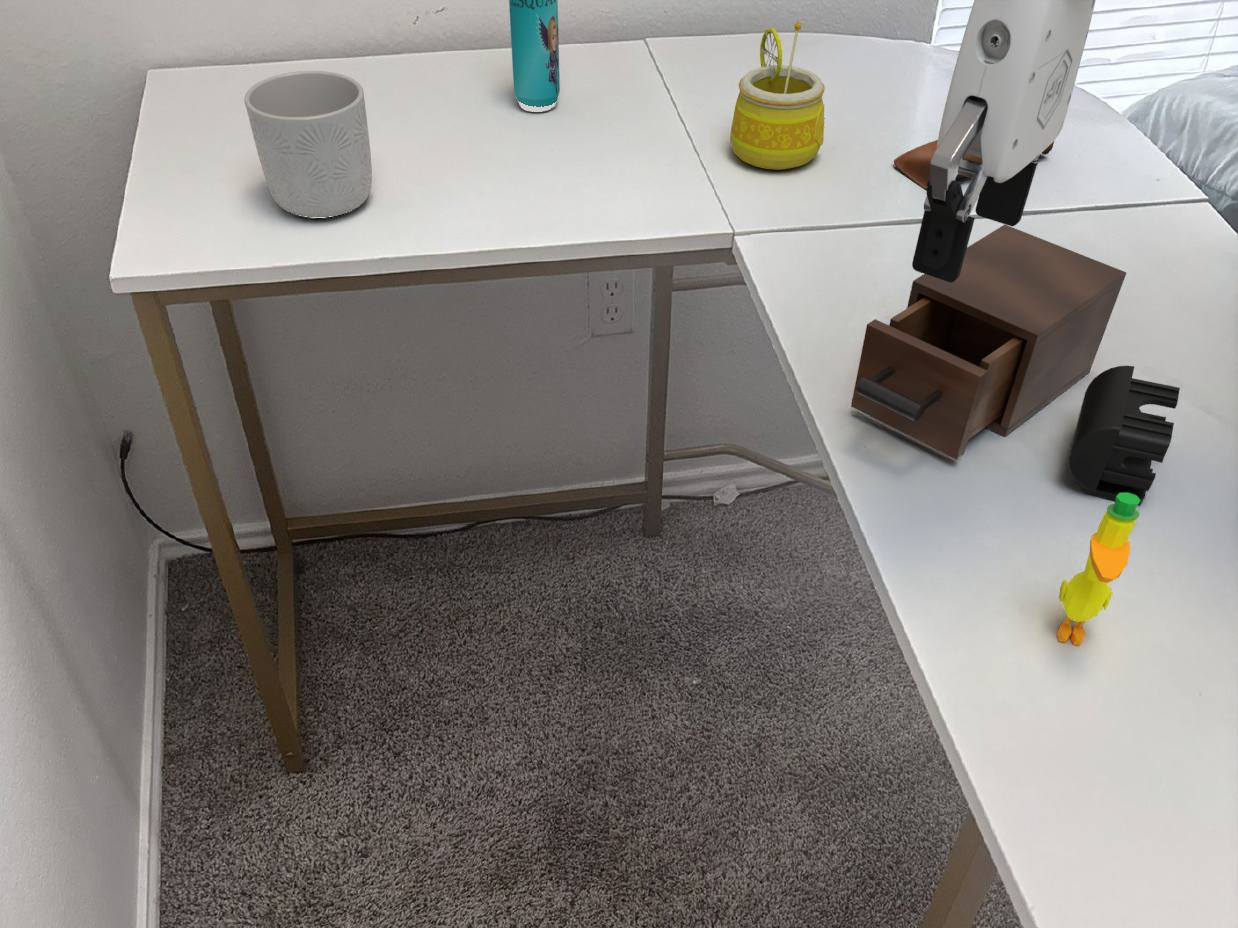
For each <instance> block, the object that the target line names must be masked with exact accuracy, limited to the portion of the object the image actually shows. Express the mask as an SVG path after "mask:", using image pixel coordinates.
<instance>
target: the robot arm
mask: <svg viewBox="0 0 1238 928" xmlns="http://www.w3.org/2000/svg"><path fill="white" fill-rule="evenodd" d="M1095 5H1096V0H973V3H972V6H971V10H970V13H969V16H968V18H967V19H968V20H967V23H966V27H965V30H964V33H963V36H962V40H961V43H960V47H959V50H958V54H957V57H956V62H955V65H954V69H953V73H952V77H951V81H950V85H949V88H948V91H947V96H946V101H945V103H944V104H945V105H944V109H943V113H942V116H941V117H942V118H941V122H940V126H939V131H938V137H937V140H938V142H937V149H936V151H935V152H934V154H933V157H932V159H931V163H930V180H929V181H928V183H927V186H928V187H927V188H926V190H925V191H926V196H925V199H924V202H923V215H922V219H921V224H920V227H919V233H918V237H917V241H916V246H915V250H914V253H913V259H912V263H911V267H912V269H913V270H914V271H916V272H918V273H921V274H927V275H930V276H933V277H936V278H938V279H941V280H944V281H947V282H954V281H955V280H956V279H957V278H958V277H959V275H960V272H961V268H962V265H963V261H964V257H965V253H966V250H967V247H969V242H970V238H971V235H972V230H973V227H974V223H975V219H976V217H973V216H971V213H972V211H973V209H974V207H975V211H974V212H975V214H976V216H979V217H981V218H984V219H986V220H987V219H988V220H991V221H994V222H996V223H1000V224H1003V225H1008V226H1010V227H1015V226H1017V225H1018V224H1019V223H1020V222H1021V220H1022V217H1023V213H1024V211H1025V207H1026V203H1027V200H1028V197H1029V194H1030V191H1031V186H1032V183H1033V181H1034V177H1035V173H1036V170H1037V166H1038V163H1037V162H1036V161H1037V160H1039V158H1040V156H1041V154H1042V152H1043V151H1044V150H1045V149H1046V148H1047V147H1048V146H1050V145H1051V144H1052V143H1053V142H1054V143H1055V141H1056V139H1057V138H1058V137H1059V135H1060V133H1061V131H1062V129H1063V127H1064V124H1065V120H1066V118H1067V117H1066V116H1067V113H1068V109H1069V106H1070V102H1071V98H1072V95H1073V91H1074V89H1075V84H1076V80H1077V77H1078V72H1079V69H1080V65H1081V61H1082V58H1083V54H1084V50H1085V46H1086V42H1087V38H1088V34H1089V31H1090V26H1091V23H1092V18H1093V14H1094V11H1095ZM965 153H967V154H970V155H974V156H977V157H980V158H982V163H979V162H975V161H972V160H969V159H965V158H963V156H964V155H965ZM1033 161H1034V162H1033ZM958 174H960V175H963V176H964V177H967V178H970V181H969V184H968V185H967V188H966V190H965V192H963V189H962V185H961V182H960V181H958V180H955V178H956V176H957V175H958ZM975 205H976V206H975Z"/></svg>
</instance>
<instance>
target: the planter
mask: <svg viewBox="0 0 1238 928" xmlns="http://www.w3.org/2000/svg"><path fill="white" fill-rule="evenodd" d="M244 105H245V109H246V113H247V117H248V121H249V125H250V128H251V133H252V137H253V140H254V145H255V148H256V152H257V156H258V159H259V164H260V166H261V167H260V168H261V171H262V174H263V178H264V179H265V182H266V185H267V188H268V190H269V192H270V194H271V197H272V198H273V200H274V202H275V203H276V204H277V205H278V206H279V207H280V208H281V209H282V210H285V211H286V212H288V213H289V212H291V213H290V214H292V213H293V214H292V215H294V214H296V215H295V216H297V215H301V216H307V217H329V216H336V215H340V214H343V213H346V212H349V211H351V210H353V209H355V208H357V207H358V206H359V207H361V206H362V205H363V204H364V203H365V201H366V200H367V199H368V197H369V195H370V193H371V189H372V182H373V167H372V154H371V153H372V152H371V144H370V134H369V125H368V118H367V116H368V115H367V109H366V101H365V92H364V88H363V87H362V85H361V84H360V83H359V82H358V81H357V80H355V79H354V78H353V77H350V76H348V75H344V74H341V73H337V72H332V71H325V70H301V71H299V70H298V71H292V72H291V71H290V72H285V73H280V74H276V75H273V76H270V77H267V78H265V79H263V80H260V81H258V82H257V83H254V85H252V86H251V87H249V89H248V90H247V91H246V93H245V95H244ZM362 203H363V204H362ZM361 204H362V205H361ZM360 205H361V206H360ZM359 207H358V208H359ZM358 208H357V209H358ZM355 210H356V209H355ZM353 211H354V210H353ZM351 212H352V211H351ZM349 213H350V212H349Z"/></svg>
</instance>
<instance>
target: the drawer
mask: <svg viewBox="0 0 1238 928" xmlns="http://www.w3.org/2000/svg"><path fill="white" fill-rule="evenodd" d="M1026 343H1027V340H1025V339H1023V338H1021V337H1018V336H1016V335H1014V334H1012V333H1009V332H1007V331H1005V330H1002V329H1000V328H998V327H996V326H993V325H991V324H989V323H987V322H984V321H982V320H980V319H977V318H975V317H973V316H971V315H968V314H966V313H964V312H961V311H959V310H957V309H955V308H952V307H950V306H948V305H946V304H943V303H941V302H939V301H936V300H934V299H932V298H930V297H927V296H926V297H924V298H923V299H921V300H919V301H918V302H916V303H915V304H913V305H912V306H910V307H908V308H907V307H906V308H905V309H904V310H901V311H900V312H899V313H897V314H896V315H894V316H893V317H891V318H890V321H889V324H887V323H885V322H882V321H880V320H878V319H875V318H874V319H873V320H872V321H870V322H868V323H866V327H865V332H864V337H863V341H862V348H861V353H860V357H859V362H858V369H857V372H856V373H857V374H856V379H855V383H854V389H853V395H852V398H851V404H850V408H853V409H855V410H857V411H859V412H861V413H863V414H865V415H866V416H869V417H871V418H873V419H874V420H877V421H878V422H881V423H882V424H884V425H886V426H889V427H890V428H892V429H894V430H897V431H898V432H900V433H902V434H904V435H907V436H908V437H910V438H912V439H914V440H916V441H917V442H920V443H922V444H924V445H926V446H928V447H930V448H932V449H934V450H936V451H938V452H939V453H942V454H944V455H946V456H947V457H950V458H952V459H954V460H958V459H959V458H961V457H962V456H963V455H964V454H965V451H966V448H967V445H968V441H969V440H970V439H972V438H973V437H974V436H976V435H977V434H979V432H981V431H983V430H984V429H986V426H988V425H989V424H990V423H992V422H993V421H994V420H996V419H997V418H998V417H1000V416H1001V415H1002V414H1004V412H1005V409H1006V406H1007V403H1008V400H1009V397H1010V393H1011V390H1012V387H1013V384H1014V381H1015V378H1016V374H1017V371H1018V368H1019V365H1020V362H1021V359H1022V356H1023V352H1024V349H1025V346H1026Z"/></svg>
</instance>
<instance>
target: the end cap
mask: <svg viewBox="0 0 1238 928" xmlns="http://www.w3.org/2000/svg"><path fill="white" fill-rule="evenodd" d="M1134 371H1135V366H1134V365H1118V366H1114V367H1110V368H1109V369H1106V370H1104V371H1102V372H1100V373H1099V374H1098V375H1096V376H1095V377H1094V378H1093V379H1092V380H1091V381H1090V383H1089V384H1088V385H1087V387H1086V390H1085V392H1084V395H1083V400H1082V404H1081V407H1080V410H1079V411H1080V412H1079V414H1078V419H1077V423H1076V426H1075V431H1074V434H1073V438H1072V442H1071V445H1070V450H1069V454H1068V459H1067V461H1068V462H1067V463H1068V469H1069V473H1070V474H1071V477H1072V479H1074V481H1075V482H1076V483H1077V484H1079V486H1080V487H1081V488H1082V489H1083V490H1084V491H1085V492H1086V493H1087V494H1089V495H1092V496H1094V497H1096V498H1097V497H1098V498H1101V499H1105V500H1106V499H1107V500H1110V501H1114V502H1115V500H1116V496H1117V495H1118V494H1119V493H1131V494H1134V495H1136V496H1137V497H1138V498H1139V499H1140V500H1141V501H1140V502H1139V504H1138V506H1139V505H1141V504H1143V503H1144V499H1145V498H1146V494H1147V492H1149V491H1150V489H1151V487H1152V485H1153V483H1154V480H1155V479H1156V476H1157V473H1156V472H1154V468H1151V467H1152V462H1157V463H1163V461H1164V459H1165V457H1166V455H1167V453H1168V450H1169V447H1170V446H1171V443H1172V438H1173V437H1172V436H1173V431H1174V425H1175V423H1174V422H1171V421H1167V417H1166V416H1163V415H1162V416H1161V415H1159V414H1158V415H1157V414H1152V413H1148V412H1143V411H1142V410H1141V407H1143V406H1146V405H1154V406H1159V407H1164V408H1170V409H1174V410H1176V408H1177V406H1178V403H1179V395H1180V392H1181V391H1180V390H1181V387H1178V386H1173V385H1168V384H1162V383H1159V382H1153V381H1148V380H1143V379H1138V378H1135V377H1134V378H1133V375H1134Z"/></svg>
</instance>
